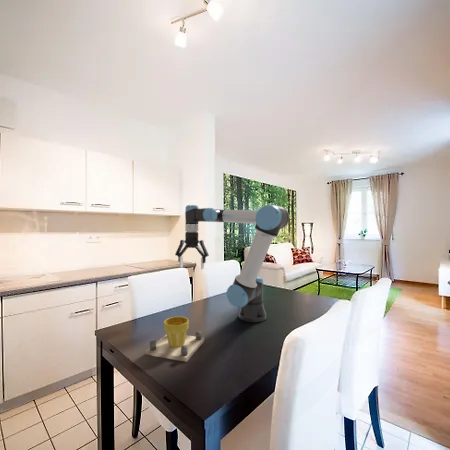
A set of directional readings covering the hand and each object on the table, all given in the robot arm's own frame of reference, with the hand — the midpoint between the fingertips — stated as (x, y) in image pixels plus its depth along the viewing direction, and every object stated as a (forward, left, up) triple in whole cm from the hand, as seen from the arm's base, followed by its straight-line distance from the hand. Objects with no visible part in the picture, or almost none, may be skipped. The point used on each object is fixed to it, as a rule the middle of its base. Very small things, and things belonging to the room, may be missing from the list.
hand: (191, 268), depth 147 cm
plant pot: (-11, +39, -25) cm, 48 cm away
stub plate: (-11, +39, -27) cm, 49 cm away
